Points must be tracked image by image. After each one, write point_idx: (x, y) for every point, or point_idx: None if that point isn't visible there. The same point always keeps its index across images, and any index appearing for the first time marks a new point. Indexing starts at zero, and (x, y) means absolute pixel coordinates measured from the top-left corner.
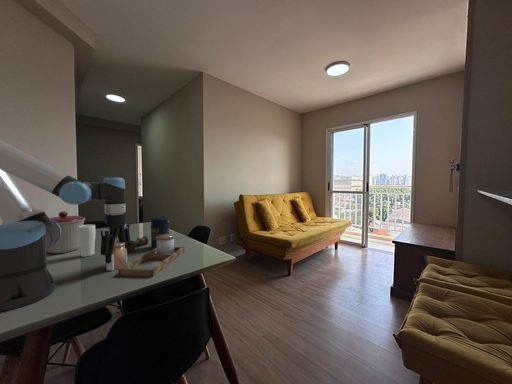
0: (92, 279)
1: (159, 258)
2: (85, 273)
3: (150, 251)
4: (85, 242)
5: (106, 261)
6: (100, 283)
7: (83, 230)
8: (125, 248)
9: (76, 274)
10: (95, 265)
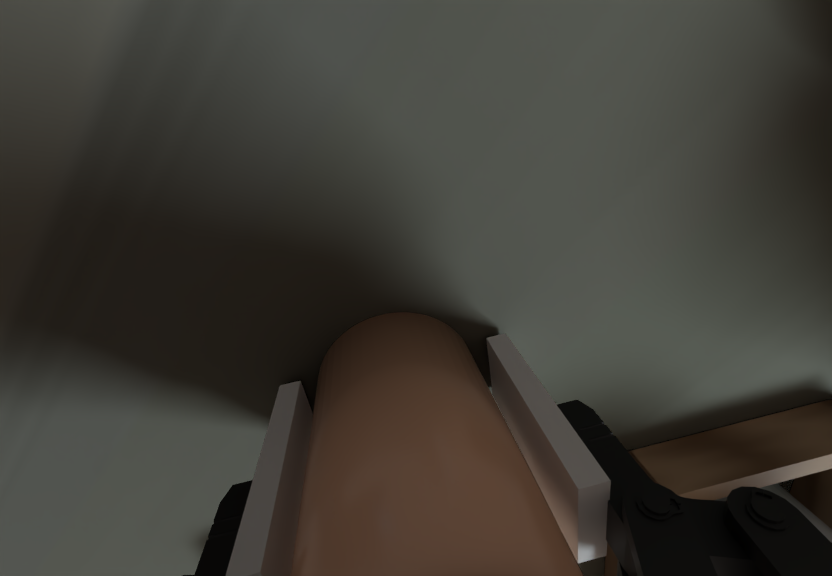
0: (76, 448)
1: (612, 559)
2: (106, 231)
3: (732, 485)
4: None
5: (221, 521)
6: (82, 560)
7: None
8: (595, 549)
9: (9, 138)
10: (346, 74)
